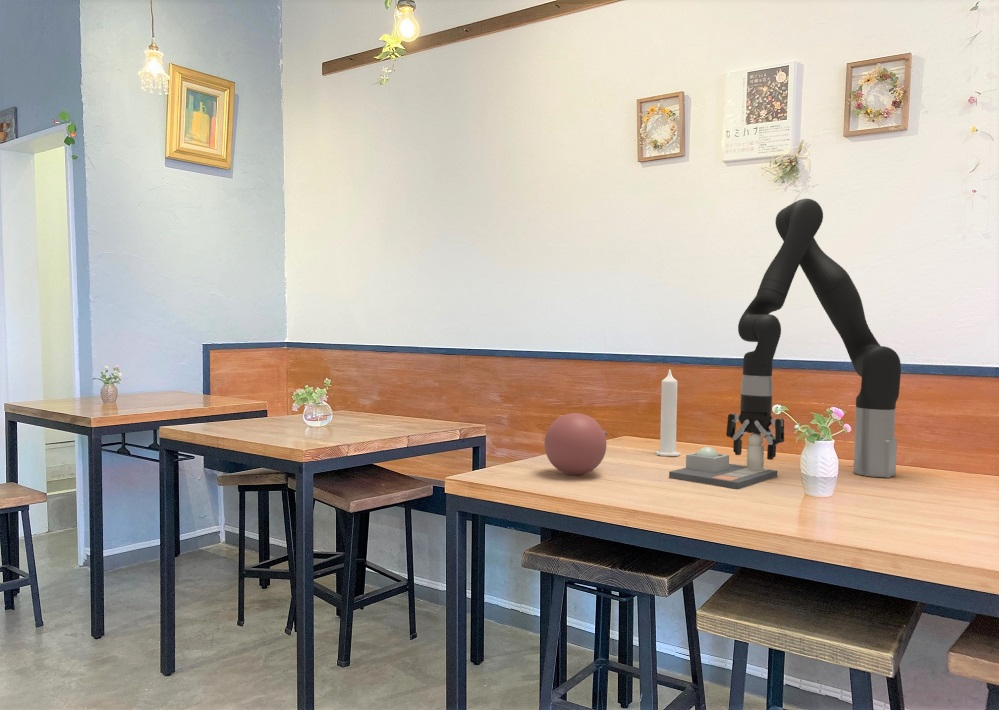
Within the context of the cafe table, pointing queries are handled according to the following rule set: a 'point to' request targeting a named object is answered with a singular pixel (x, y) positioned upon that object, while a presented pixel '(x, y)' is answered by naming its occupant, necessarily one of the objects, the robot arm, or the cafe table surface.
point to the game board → (720, 472)
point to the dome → (707, 452)
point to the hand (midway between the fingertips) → (753, 457)
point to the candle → (668, 417)
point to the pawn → (755, 452)
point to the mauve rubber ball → (575, 444)
